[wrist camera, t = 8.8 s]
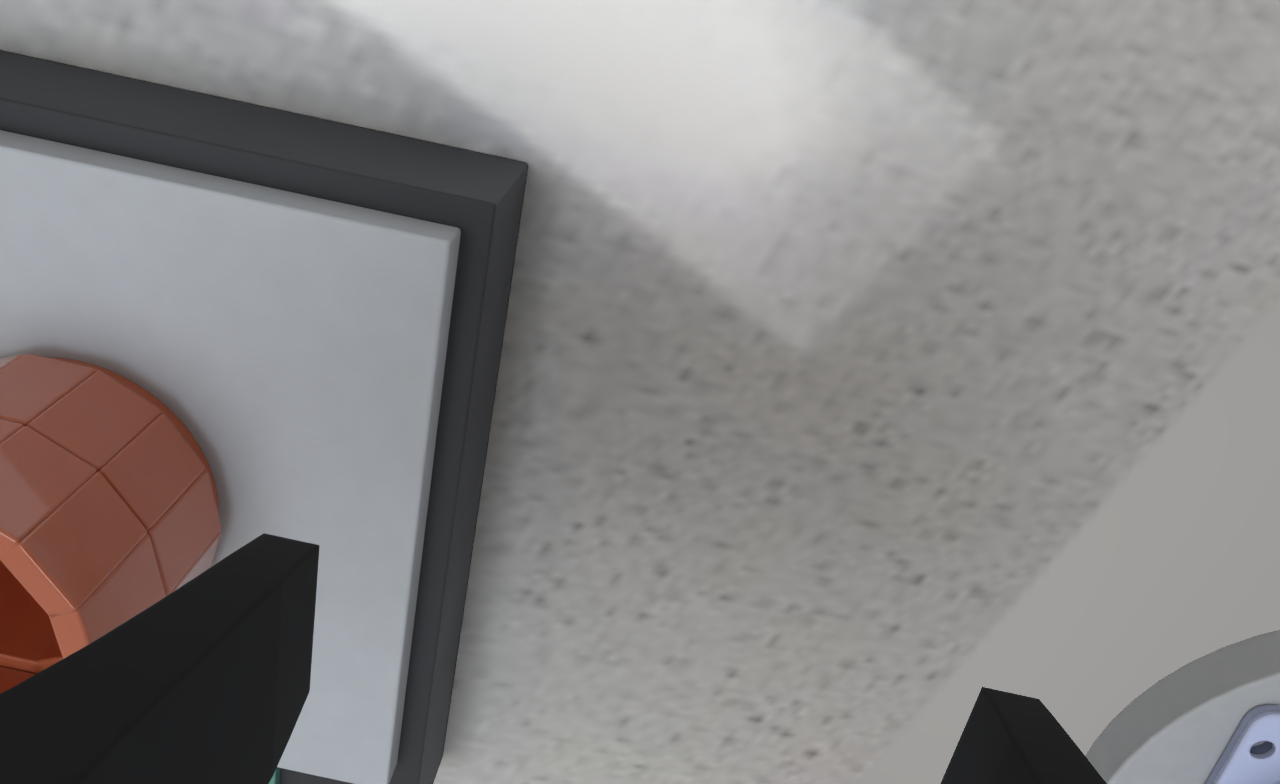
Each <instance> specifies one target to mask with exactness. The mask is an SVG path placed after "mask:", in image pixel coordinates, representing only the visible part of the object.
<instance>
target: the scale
mask: <svg viewBox="0 0 1280 784" xmlns="http://www.w3.org/2000/svg"><path fill="white" fill-rule="evenodd" d="M527 169H528V164H527V163H525V162H521V161H516V160H511V159H507V158H502V157H497V156H492V155H488V154H483V153H478V152H474V151H469V150H464V149H460V148H455V147H450V146H446V145H441V144H436V143H431V142H427V141H422V140H417V139H413V138H408V137H403V136H399V135H394V134H389V133H385V132H380V131H375V130H370V129H366V128H361V127H356V126H352V125H347V124H342V123H338V122H333V121H328V120H324V119H319V118H314V117H309V116H305V115H300V114H295V113H291V112H286V111H281V110H277V109H272V108H267V107H263V106H258V105H253V104H248V103H244V102H239V101H234V100H230V99H225V98H220V97H216V96H211V95H206V94H201V93H197V92H192V91H187V90H183V89H178V88H173V87H169V86H164V85H159V84H155V83H150V82H145V81H140V80H136V79H131V78H126V77H122V76H117V75H112V74H108V73H103V72H98V71H94V70H89V69H84V68H79V67H75V66H70V65H65V64H61V63H56V62H51V61H47V60H42V59H37V58H33V57H28V56H23V55H18V54H14V53H9V52H4V51H0V359H3V358H7V357H12V356H16V355H25V354H32V355H37V356H41V357H51V358H66V359H72V360H79V361H83V362H86V363H90V364H94V365H97V366H100V367H103V368H105V369H108V370H110V371H113V372H115V373H118V374H120V375H121V376H123V377H125V378H127V379H129V380H131V381H133V382H135V383H136V384H138V385H139V386H141V387H142V388H144V389H146V390H147V391H149V392H150V393H151V394H153V395H154V396H155V397H156V398H158V399H159V400H160V401H161V402H163V403H164V404H165V405H166V406H167V407H168V408H169V409H170V410H171V411H172V412H173V413H174V414H175V415H176V416H177V417H178V418H179V419H180V420H181V421H182V422H183V424H184V425H185V426H186V427H187V428H188V430H189V431H190V432H191V433H192V435H193V436H194V438H195V439H196V441H197V443H198V444H199V446H200V447H201V449H202V451H203V453H204V455H205V457H206V459H207V461H208V463H209V465H210V468H211V471H212V474H213V477H214V479H215V484H216V489H217V494H218V505H219V519H220V523H221V530H220V532H221V534H220V538H219V542H218V545H217V548H216V551H215V555H214V558H213V561H212V564H211V567H212V566H213V565H215V564H216V563H218V562H219V561H221V560H222V559H224V558H225V557H227V556H229V555H230V554H232V553H233V552H235V551H236V550H238V549H239V548H241V547H243V546H244V545H246V544H247V543H249V542H251V541H252V540H254V539H255V538H257V537H259V536H260V535H262V534H264V533H265V534H270V535H274V536H279V537H284V538H288V539H293V540H298V541H302V542H307V543H312V544H316V545H320V546H319V561H318V575H317V590H316V605H315V619H314V634H313V649H312V663H311V678H310V692H309V694H308V696H307V699H306V701H305V703H304V706H303V708H302V711H301V713H300V715H299V718H298V720H297V722H296V725H295V727H294V729H293V732H292V734H291V737H290V739H289V741H288V743H287V746H286V748H285V750H284V752H283V755H282V757H281V759H280V761H279V764H278V766H277V768H276V770H275V773H274V775H273V777H272V779H271V780H270V782H269V784H433V782H434V779H435V777H436V774H437V771H438V768H439V765H440V762H441V759H442V756H443V749H444V742H445V735H446V728H447V721H448V714H449V707H450V701H451V694H452V687H453V680H454V673H455V666H456V659H457V652H458V645H459V638H460V632H461V625H462V618H463V611H464V604H465V597H466V590H467V583H468V576H469V569H470V563H471V556H472V549H473V542H474V535H475V528H476V521H477V514H478V507H479V500H480V494H481V487H482V480H483V473H484V466H485V459H486V452H487V445H488V438H489V431H490V425H491V418H492V411H493V404H494V397H495V390H496V383H497V376H498V369H499V362H500V356H501V349H502V342H503V335H504V328H505V321H506V314H507V307H508V300H509V293H510V287H511V280H512V273H513V266H514V259H515V252H516V245H517V238H518V231H519V224H520V218H521V211H522V204H523V197H524V190H525V183H526V176H527Z"/></svg>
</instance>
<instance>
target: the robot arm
mask: <svg viewBox="0 0 1280 784" xmlns="http://www.w3.org/2000/svg"><path fill="white" fill-rule="evenodd" d="M319 546H320V545H316V544H312V543H307V542H302V541H298V540H293V539H288V538H284V537H279V536H274V535H270V534H265V533H264V534H262V535H260V536H259V537H257V538H255V539H254V540H252V541H251V542H249V543H247V544H246V545H244V546H243V547H241V548H239V549H238V550H236V551H235V552H233V553H232V554H230V555H229V556H227V557H225V558H224V559H222V560H221V561H219V562H218V563H216V564H215V565H213V566H212V567H210V568H209V569H207V570H206V571H204V572H203V573H201V574H200V575H198V576H197V577H195V578H194V579H192V580H190V581H189V582H187V583H186V584H184V585H183V586H181V587H180V588H178V589H177V590H175V591H174V592H172V593H170V594H169V595H167V596H166V597H164V598H163V599H161V600H160V601H158V602H157V603H155V604H153V605H152V606H150V607H148V608H147V609H145V610H144V611H142V612H140V613H139V614H137V615H136V616H134V617H132V618H131V619H129V620H128V621H126V622H124V623H123V624H121V625H120V626H118V627H116V628H115V629H113V630H111V631H110V632H108V633H107V634H105V635H103V636H102V637H100V638H99V639H97V640H95V641H94V642H92V643H90V644H88V645H87V646H85V647H83V648H82V649H80V650H78V651H76V652H75V653H73V654H71V655H69V656H67V657H66V658H64V659H62V660H60V661H59V662H57V663H55V664H53V665H51V666H50V667H48V668H46V669H44V670H43V671H41V672H39V673H37V674H36V675H34V676H32V677H30V678H28V679H27V680H25V681H23V682H21V683H20V684H18V685H16V686H14V687H12V688H10V689H9V690H7V691H5V692H3V693H1V694H0V784H269V782H270V780H271V779H272V777H273V775H274V773H275V770H276V768H277V766H278V764H279V761H280V759H281V757H282V755H283V752H284V750H285V748H286V746H287V743H288V741H289V739H290V737H291V734H292V732H293V729H294V727H295V725H296V722H297V720H298V718H299V715H300V713H301V711H302V708H303V706H304V703H305V701H306V699H307V696H308V694H309V692H310V678H311V663H312V649H313V634H314V619H315V605H316V590H317V575H318V561H319ZM1260 741H1265V742H1264V743H1263V744H1260V745H1258V746H1253V745H1254V744H1255V743H1257V742H1260ZM941 784H1106V782H1105V781H1104V780H1103V779H1102V777H1101V776H1100V775H1099V774H1098V772H1097V771H1096V770H1095V768H1094V767H1093V766H1092V765H1091V763H1090V762H1089V761H1088V759H1087V758H1086V757H1085V756H1084V754H1083V753H1082V752H1081V751H1080V749H1079V748H1078V747H1077V746H1076V744H1075V743H1074V742H1073V740H1072V739H1071V738H1070V737H1069V735H1068V734H1067V733H1066V732H1065V731H1064V729H1063V728H1062V727H1061V725H1060V724H1059V723H1058V722H1057V720H1056V719H1055V718H1054V717H1053V715H1052V714H1051V713H1050V712H1049V711H1048V709H1046V707H1045V706H1044V705H1043V704H1042V703H1041V701H1040V700H1039V699H1035V698H1031V697H1026V696H1021V695H1017V694H1012V693H1007V692H1003V691H998V690H993V689H989V688H984V687H982V689H981V691H980V694H979V696H978V699H977V701H976V703H975V706H974V708H973V710H972V712H971V715H970V717H969V719H968V722H967V724H966V726H965V728H964V731H963V733H962V735H961V738H960V740H959V742H958V745H957V747H956V750H955V752H954V754H953V756H952V759H951V761H950V763H949V766H948V768H947V770H946V773H945V775H944V778H943V780H942V782H941ZM1206 784H1280V706H1278V705H1263V706H1258V707H1256V708H1254V709H1252V710H1251V711H1249V712H1248V713H1247V714H1246V716H1245V717H1244V718H1243V720H1242V722H1241V723H1240V725H1239V727H1238V728H1237V730H1236V732H1235V734H1234V735H1233V737H1232V739H1231V740H1230V742H1229V744H1228V746H1227V747H1226V749H1225V751H1224V753H1223V754H1222V756H1221V758H1220V759H1219V761H1218V763H1217V765H1216V766H1215V768H1214V770H1213V771H1212V773H1211V775H1210V777H1209V778H1208V780H1207V782H1206Z"/></svg>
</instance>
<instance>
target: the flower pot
mask: <svg viewBox="0 0 1280 784" xmlns="http://www.w3.org/2000/svg"><path fill="white" fill-rule="evenodd" d="M220 530H221V523H220V519H219V505H218V494H217V489H216V484H215V479H214V477H213V474H212V471H211V468H210V465H209V463H208V461H207V459H206V457H205V455H204V453H203V451H202V449H201V447H200V446H199V444H198V443H197V441H196V439H195V438H194V436H193V435H192V433H191V432H190V431H189V430H188V428H187V427H186V426H185V425H184V424H183V422H182V421H181V420H180V419H179V418H178V417H177V416H176V415H175V414H174V413H173V412H172V411H171V410H170V409H169V408H168V407H167V406H166V405H165V404H164V403H163V402H161V401H160V400H159V399H158V398H156V397H155V396H154V395H153V394H151V393H150V392H149V391H147V390H146V389H144V388H142V387H141V386H139V385H138V384H136V383H135V382H133V381H131V380H129V379H127V378H125V377H123V376H121V375H120V374H118V373H115V372H113V371H110V370H108V369H105V368H103V367H100V366H97V365H94V364H90V363H86V362H83V361H79V360H72V359H66V358H51V357H41V356H37V355H32V354H25V355H16V356H12V357H7V358H3V359H0V694H1V693H3V692H5V691H7V690H9V689H10V688H12V687H14V686H16V685H18V684H20V683H21V682H23V681H25V680H27V679H28V678H30V677H32V676H34V675H36V674H37V673H39V672H41V671H43V670H44V669H46V668H48V667H50V666H51V665H53V664H55V663H57V662H59V661H60V660H62V659H64V658H66V657H67V656H69V655H71V654H73V653H75V652H76V651H78V650H80V649H82V648H83V647H85V646H87V645H88V644H90V643H92V642H94V641H95V640H97V639H99V638H100V637H102V636H103V635H105V634H107V633H108V632H110V631H111V630H113V629H115V628H116V627H118V626H120V625H121V624H123V623H124V622H126V621H128V620H129V619H131V618H132V617H134V616H136V615H137V614H139V613H140V612H142V611H144V610H145V609H147V608H148V607H150V606H152V605H153V604H155V603H157V602H158V601H160V600H161V599H163V598H164V597H166V596H167V595H169V594H170V593H172V592H174V591H175V590H177V589H178V588H180V587H181V586H183V585H184V584H186V583H187V582H189V581H190V580H192V579H194V578H195V577H197V576H198V575H200V574H201V573H203V572H204V571H206V570H207V569H209V568H210V567H211V564H212V561H213V558H214V555H215V551H216V548H217V545H218V542H219V538H220V534H221V532H220Z"/></svg>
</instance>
